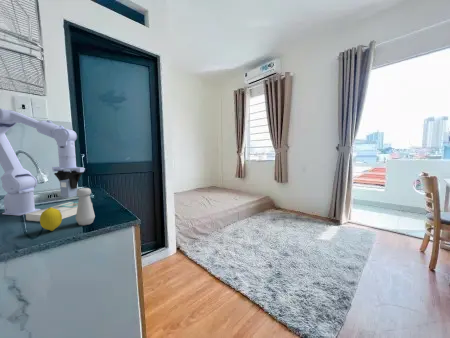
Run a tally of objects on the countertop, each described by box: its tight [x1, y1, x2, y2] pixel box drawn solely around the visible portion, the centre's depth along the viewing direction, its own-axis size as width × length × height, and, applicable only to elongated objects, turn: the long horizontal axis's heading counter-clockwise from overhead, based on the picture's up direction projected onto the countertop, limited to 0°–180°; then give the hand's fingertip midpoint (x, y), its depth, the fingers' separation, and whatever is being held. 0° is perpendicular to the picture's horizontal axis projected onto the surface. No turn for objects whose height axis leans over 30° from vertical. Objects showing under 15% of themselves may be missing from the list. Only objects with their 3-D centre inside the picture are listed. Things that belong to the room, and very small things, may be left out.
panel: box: [25, 201, 94, 222], centre depth 83 cm, size 12×18×3 cm, turn 169°
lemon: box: [39, 206, 63, 232], centre depth 66 cm, size 6×6×8 cm
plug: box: [59, 179, 78, 198], centre depth 86 cm, size 4×4×7 cm
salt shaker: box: [75, 187, 96, 226], centre depth 72 cm, size 6×6×13 cm
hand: (69, 188), depth 86 cm, fingers closed on plug, 4 cm apart
